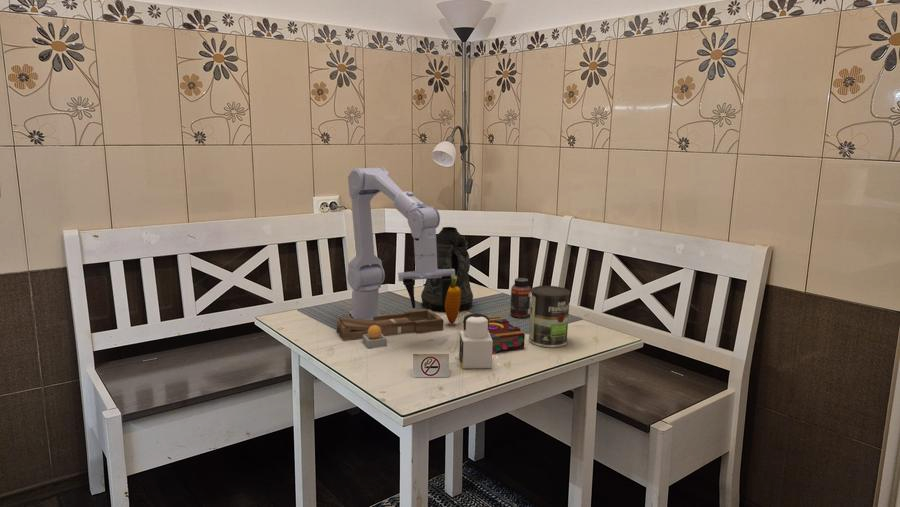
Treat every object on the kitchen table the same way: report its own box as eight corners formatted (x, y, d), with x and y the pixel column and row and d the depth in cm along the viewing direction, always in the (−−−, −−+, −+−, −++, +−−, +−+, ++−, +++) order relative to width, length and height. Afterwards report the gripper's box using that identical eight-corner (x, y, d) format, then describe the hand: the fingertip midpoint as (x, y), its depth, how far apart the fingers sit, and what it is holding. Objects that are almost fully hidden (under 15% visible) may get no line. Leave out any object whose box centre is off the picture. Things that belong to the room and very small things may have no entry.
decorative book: (499, 331, 171) (500, 314, 170) (527, 351, 156) (528, 332, 155) (462, 335, 167) (462, 318, 166) (487, 356, 152) (488, 337, 151)
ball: (366, 336, 159) (366, 324, 158) (379, 335, 161) (379, 322, 160) (369, 341, 156) (369, 328, 155) (383, 339, 157) (382, 326, 157)
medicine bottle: (459, 357, 150) (460, 311, 148) (487, 357, 151) (489, 311, 148) (461, 369, 143) (463, 320, 141) (491, 368, 144) (493, 320, 142)
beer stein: (441, 295, 205) (442, 221, 199) (490, 305, 194) (493, 228, 188) (410, 306, 192) (410, 228, 186) (460, 318, 181) (463, 235, 175)
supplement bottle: (533, 316, 184) (535, 280, 181) (519, 319, 180) (520, 282, 178) (520, 311, 189) (522, 276, 186) (506, 314, 185) (507, 278, 183)
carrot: (458, 328, 172) (459, 276, 169) (441, 326, 173) (442, 275, 170) (461, 322, 177) (463, 272, 173) (445, 321, 178) (446, 271, 174)
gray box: (362, 341, 160) (362, 334, 159) (381, 339, 162) (381, 332, 161) (367, 348, 155) (367, 341, 155) (386, 345, 157) (386, 338, 157)
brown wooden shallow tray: (335, 329, 169) (335, 315, 168) (429, 318, 180) (429, 305, 179) (344, 342, 159) (344, 327, 158) (443, 329, 170) (443, 316, 169)
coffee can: (575, 344, 161) (578, 293, 158) (543, 350, 156) (546, 297, 154) (551, 332, 170) (554, 283, 167) (521, 337, 165) (523, 287, 162)
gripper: (398, 258, 151) (401, 311, 153) (456, 254, 153) (458, 307, 155) (396, 254, 158) (399, 305, 160) (451, 251, 160) (453, 301, 162)
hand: (428, 306), depth 158 cm, fingers open, 7 cm apart
